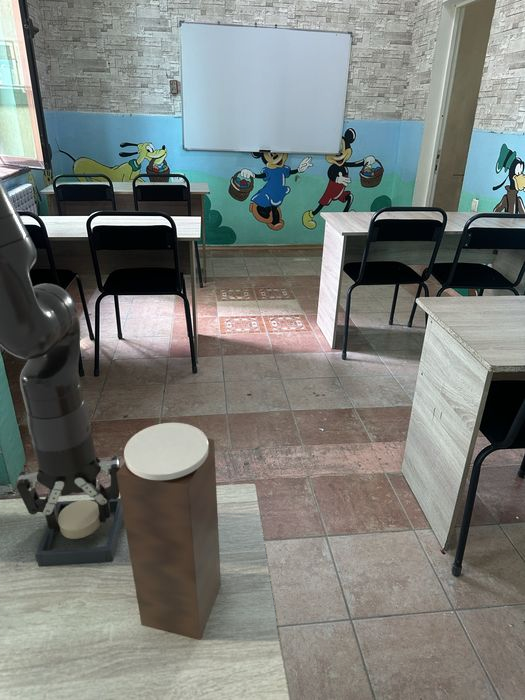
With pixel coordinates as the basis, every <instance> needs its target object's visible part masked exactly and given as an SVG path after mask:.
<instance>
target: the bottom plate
mask: <svg viewBox="0 0 525 700" xmlns="http://www.w3.org/2000/svg"><path fill="white" fill-rule="evenodd" d="M207 438H208V437H207V435H206V434H205V433H204V432H203V431H202V430H201V429H199V428H198V427H196V426H193V425H191V424H188V423H183V422H163V423H158V424H154V425H151V426H148V427H146V428H144V429H141V430H140V431H138V432H137V433H136V434H134V435H132V437H131V438H130V439H129V440H128V441H127V443H126V444H125V446H124V450H123V457H124V463H126V465H127V467H128V469H129V470H130V471H131V472H133V473H134V474H135V475H137V476H139V477H142V478H145V479H149V480H170V479H175V478H179V477H182V476H185V475H187V474H189V473H191V472H193V471H195V470H196V469H197V468H199V467H200V466H201V465H202V464H203V463H204V461H205V460H206V458H207V456H208V452H209V444H208V439H209V438H208V439H207Z"/></svg>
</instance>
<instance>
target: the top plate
mask: <svg viewBox="0 0 525 700" xmlns="http://www.w3.org/2000/svg"><path fill="white" fill-rule="evenodd" d="M79 500H80V499H79ZM79 500H75V501H76V502H73V503H71V504H69V505H68V506H66V507H65V508H64V509H63V510H62V511H61V512H60V514H59V516H58V524H59V528H60V531H59V532H60V534H61V535H62V536H64V537H65V538H67V539H72V540H74V539H76V540H77V539H78V540H79V539H81V538H85V537H87V536H90V535H92V534H93V533H94V532H95V531H97V530H98V528H99V527H100V525H101V524H102V523H101V519H100V514H99V508H98V504H97V503H96V502H94V501H91V500H92V499H81V500H80V501H79Z"/></svg>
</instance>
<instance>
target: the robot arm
mask: <svg viewBox="0 0 525 700" xmlns="http://www.w3.org/2000/svg"><path fill="white" fill-rule="evenodd" d="M37 259H38V253H37V248H36V246H35V244H34V242H33V239H32V237H31V236H30V234H29V232H28V230H27V228H26V226H25V223H24V221H23V220H22V218H21V216H20V214H19V212H18V210H17V208H16V206H15V204H14V202H13V199H12V198H11V197H10V194H9V192H8V190H7V188H6V186H5V183H4V181H3V179H2V177H1V176H0V347H1V348H2V349H3V350H5V351H6V352H7V353H9V354H10V355H12V356H13V357H16V358H19V359H23V360H27V361H26V363H25V365H24V367H23V368H22V369H21V372H20V374H19V386H20V390H21V394H22V399H23V402H24V406H25V410H26V417H27V418H26V419H27V428H28V435H29V439H30V441H31V443H32V448H33V452H34V455H35V460H36V464H37V468H38V469H37V471H35V472H31V473H29V472H27V471H21V472H20V473H19V474H18V477H17V481H16V487H15V488H16V489H17V491H18V493H19V496H20V497H21V499H22V502H23V504H24V506H25V508H26V510H27V512H28V514H29V515H36V514H38V513H42V514H43V515H44V516H45V520H46V524H47V525H48V527H49V529H53V530H54V532H56V533H58V532H60V528H59V524H58V516H59V513H58V508H57V504H56V503H57V502H59V501H58V500H59V498H60V496H61V497H63V496H68V495H70V494H81V493H85V494H86V495H88V497H89V498H93V500H96V501H97V502H98V508H99V514H100V519H101V524H103V523H107V519H110V517H111V513H110V505H109V500H110V499H117V498H120V492H119V486H118V480H117V474H116V473H117V472H118V470H119V469H120V468H121V462H120V461H121V459H120V457H119V456H112V457H111V459H110V460H102V461H101V460H100V458H98V457H97V454H96V449H95V444H94V443H95V442H94V437H93V432H92V427H91V421H90V416H89V415H90V414H89V411H88V408H87V405H86V402H85V399H84V394H83V388H82V382H81V378H80V374H79V364H80V363H79V360H80V355H81V353H80V351H81V320H80V319H81V318H80V314H79V309H78V307H77V305H76V303H75V300H74V299H73V297H72V296H71V295H70V293H68V292H67V290H65V289H64V288H63V287H61V286H59V285H57V284H53V283H39V284H36V285H34V286H33V283H32V279H31V276H30V275H31V269H32V268H33V266H34V265H35V263H36V261H37ZM101 471H103V472H104V475H105V476H107V478H110V485H109V486H107V487H106V486H105V485H104V484H103V483H102V482H101V480H100V478H99V477H98V475H99V474H100V473H101ZM37 482H38V483H40V484H41V485H42V486H44V487H45V488H47V489H48V491H47V494H46V496H45V498H40V495H39V494H38V493H39V492H38V491H37V489H36V486H37Z"/></svg>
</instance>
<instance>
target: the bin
mask: <svg viewBox="0 0 525 700" xmlns="http://www.w3.org/2000/svg"><path fill="white" fill-rule="evenodd" d="M90 500H91V501H94V502H96V503H97V504H98V502H97V501H96V500H95V499H90ZM76 501H77V500H63V501H57V503H56V504H57V508H58V513H59V514H60V512H61V511H62V510H63V509H64V508H65V507H66V506H68V505H69V504H71V503H73V502H76ZM78 501H80V499H79V500H78ZM109 505H110V514H111V513H114V516H113V519H112V524H111V527H110V528H111V529H110V532H109V536H108V540H107V543H106V546H96V547H81V548H66V549H52V550H51V548H52V545H53V543H54V541H55V537H56V536H57V532H54V530H53V529H49V527H48V524H47V525H46V528H45V531H44V533H43V536H42V538H41V540H40V543H39V545H38V547H37V550H36V553H35V558H36V563H37V566H38V567H40V568H41V567H55V566H69V565H84V564H85V565H86V564H101V563H113V562H114V558H115V553H116V550H117V546H118V541H119V536H120V532H121V528H122V523H123V520H124V516H123V510H122V504H121V498H120V497H119V498H117V499H110V500H109Z"/></svg>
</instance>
